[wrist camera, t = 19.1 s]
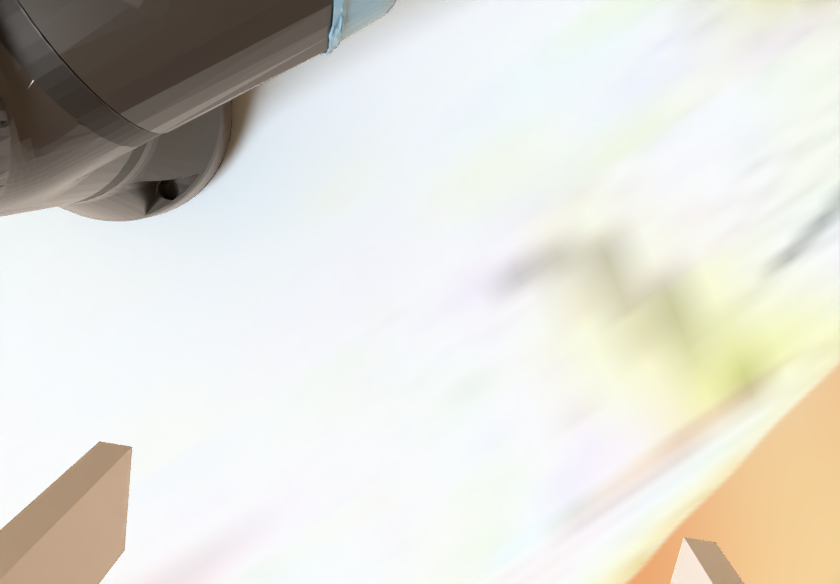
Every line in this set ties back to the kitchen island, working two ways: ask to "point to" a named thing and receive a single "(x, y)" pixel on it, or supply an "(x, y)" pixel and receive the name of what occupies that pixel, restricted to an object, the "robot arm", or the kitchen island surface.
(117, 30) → the robot arm
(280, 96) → the kitchen island surface
